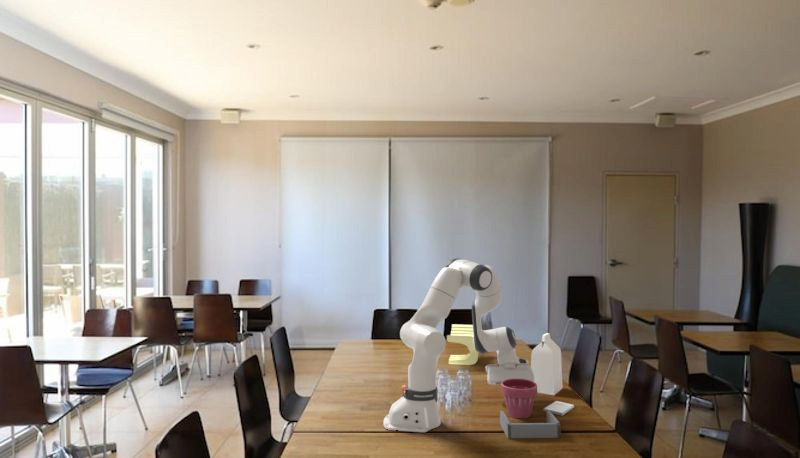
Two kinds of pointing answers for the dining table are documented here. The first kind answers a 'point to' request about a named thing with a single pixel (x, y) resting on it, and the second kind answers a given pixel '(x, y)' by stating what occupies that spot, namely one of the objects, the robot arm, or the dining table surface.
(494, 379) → the robot arm
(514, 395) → the plant pot
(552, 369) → the milk
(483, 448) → the dining table surface
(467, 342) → the slatted curved stool
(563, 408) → the external hard drive
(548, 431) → the frame
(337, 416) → the dining table surface
